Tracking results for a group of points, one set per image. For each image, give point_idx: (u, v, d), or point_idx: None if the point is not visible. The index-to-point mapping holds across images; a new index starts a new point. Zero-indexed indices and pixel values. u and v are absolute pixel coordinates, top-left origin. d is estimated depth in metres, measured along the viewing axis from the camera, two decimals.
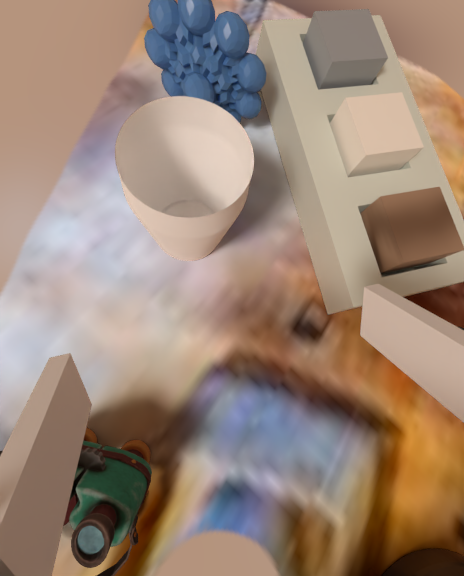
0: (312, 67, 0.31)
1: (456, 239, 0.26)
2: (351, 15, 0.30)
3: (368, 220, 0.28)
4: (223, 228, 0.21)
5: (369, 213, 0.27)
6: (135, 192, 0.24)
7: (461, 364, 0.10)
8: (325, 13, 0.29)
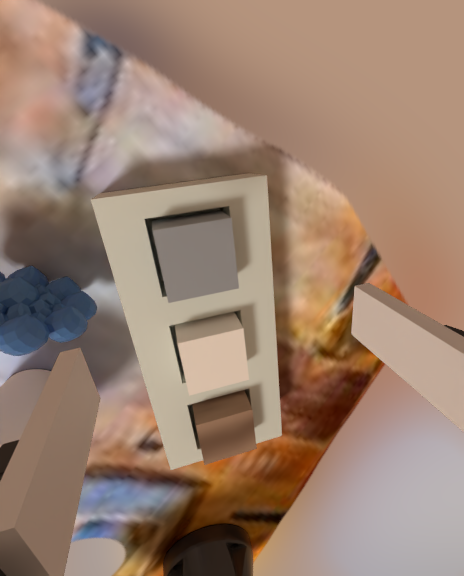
0: None
1: (252, 443, 0.33)
2: (204, 231, 0.23)
3: None
4: None
5: None
6: None
7: (446, 362, 0.10)
8: (168, 232, 0.22)
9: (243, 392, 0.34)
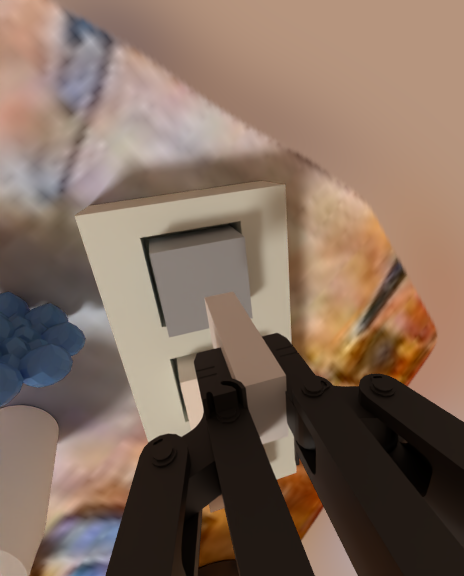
0: None
1: None
2: (212, 253, 0.19)
3: None
4: None
5: None
6: None
7: None
8: (168, 255, 0.18)
9: None
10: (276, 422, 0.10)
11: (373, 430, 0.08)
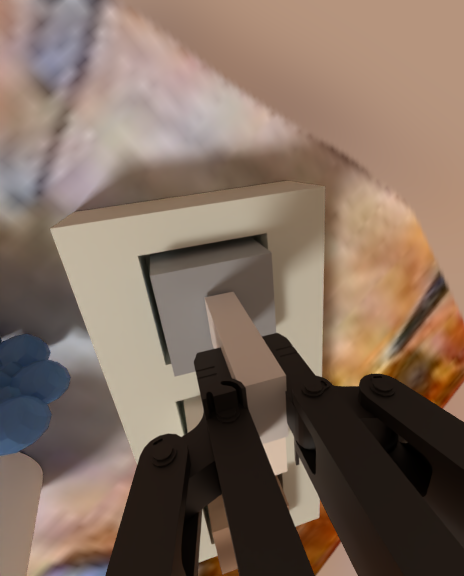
0: None
1: None
2: (230, 273, 0.15)
3: None
4: None
5: None
6: None
7: None
8: (174, 277, 0.14)
9: None
10: (276, 422, 0.10)
11: (373, 430, 0.08)
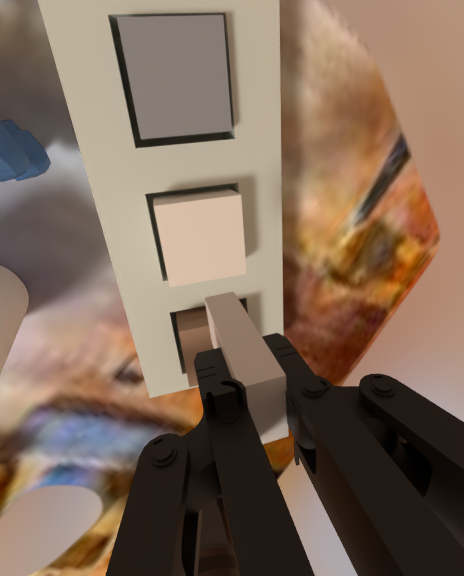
0: None
1: None
2: (187, 31, 0.17)
3: None
4: None
5: None
6: None
7: None
8: (138, 23, 0.17)
9: None
10: (277, 422, 0.10)
11: (373, 430, 0.08)
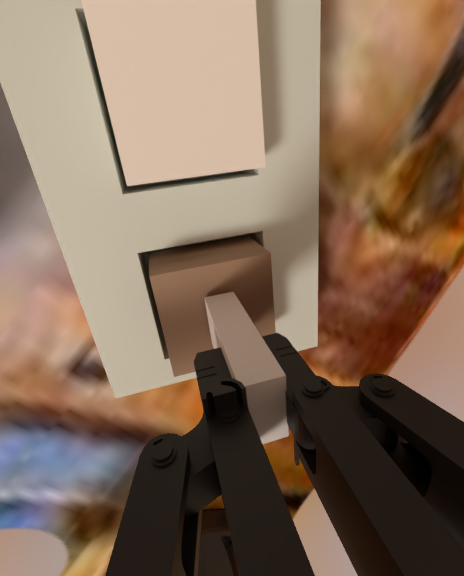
0: None
1: None
2: None
3: None
4: None
5: None
6: None
7: None
8: None
9: (251, 240, 0.17)
10: (276, 422, 0.10)
11: (373, 430, 0.08)
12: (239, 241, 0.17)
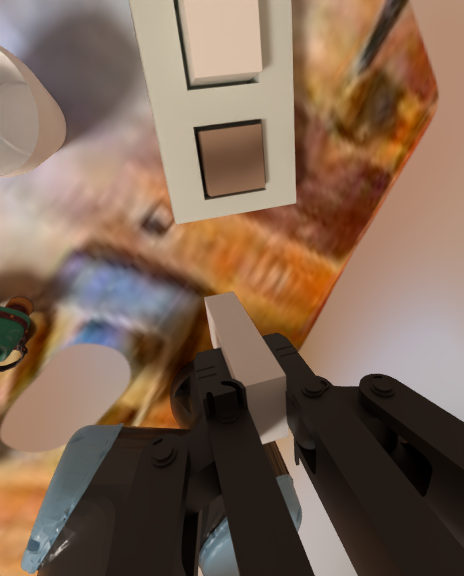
0: None
1: (261, 178, 0.31)
2: None
3: (199, 144, 0.31)
4: (33, 168, 0.24)
5: (199, 139, 0.30)
6: None
7: None
8: None
9: None
10: (277, 422, 0.10)
11: (373, 430, 0.08)
12: None
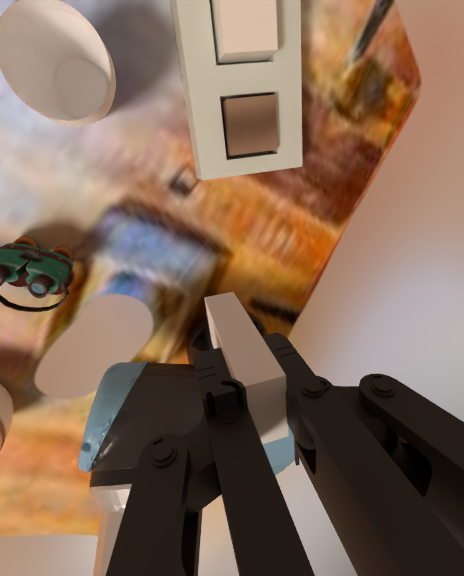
0: None
1: (274, 141, 0.38)
2: None
3: (223, 112, 0.37)
4: (97, 119, 0.30)
5: (223, 107, 0.37)
6: (24, 65, 0.29)
7: None
8: None
9: None
10: (277, 422, 0.10)
11: (373, 430, 0.08)
12: None
